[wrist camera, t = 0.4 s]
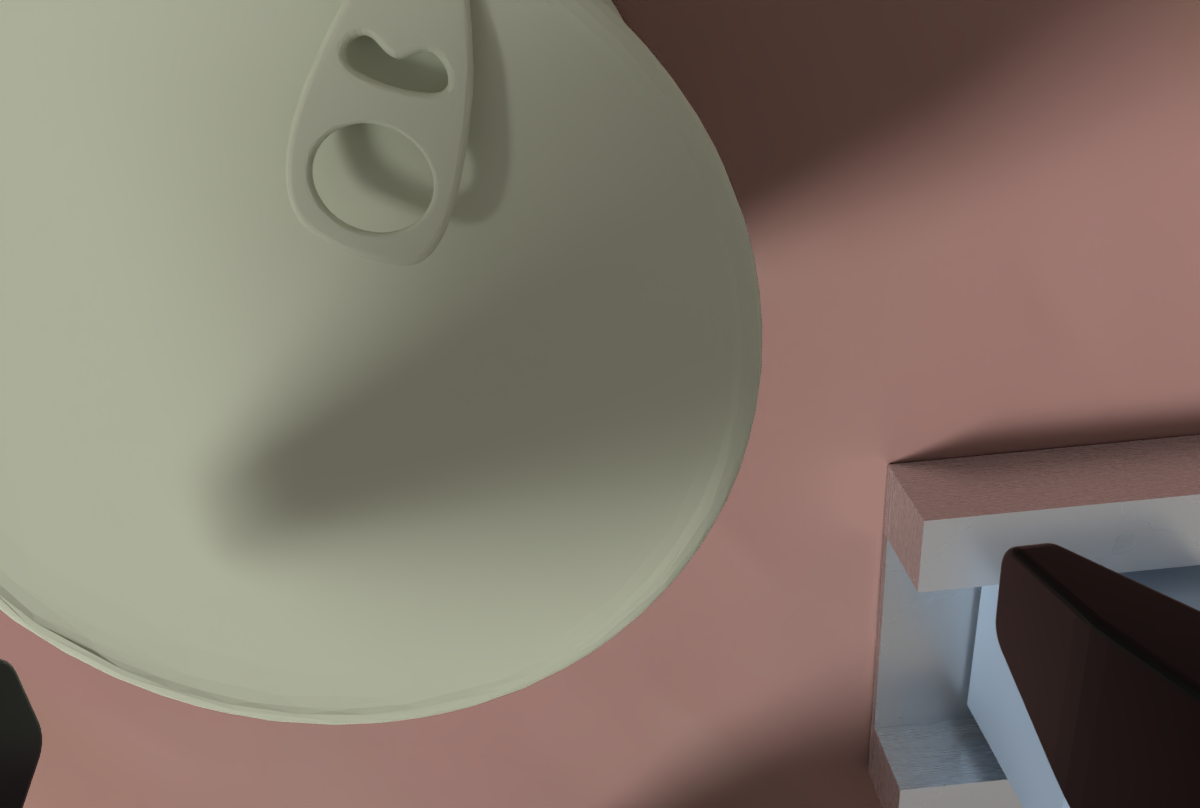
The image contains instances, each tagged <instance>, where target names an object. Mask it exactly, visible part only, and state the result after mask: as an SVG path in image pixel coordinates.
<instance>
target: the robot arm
mask: <svg viewBox="0 0 1200 808" xmlns="http://www.w3.org/2000/svg"><path fill="white" fill-rule="evenodd" d="M995 624H996V633H997V638H998V642H999V646H1000V648H1001V651H1002V653H1003V655H1004V658H1005V660H1006V663H1007V665H1008V667H1009V670H1010V672H1011V674H1012V677H1013V679H1014V681H1015V684H1016V686H1017V688H1018V691H1019V693H1020V696H1021V698H1022V700H1023V703H1024V705H1025V707H1026V710H1027V712H1028V714H1029V717H1030V719H1031V721H1032V724H1033V726H1034V729H1035V731H1036V733H1037V736H1038V738H1039V740H1040V743H1041V745H1042V747H1043V750H1044V752H1045V754H1046V757H1047V759H1048V762H1049V764H1050V766H1051V769H1052V771H1053V773H1054V775H1055V778H1056V780H1057V782H1058V784H1059V786H1060V788H1061V791H1062V793H1063V795H1064V797H1065V799H1066V801H1067V803H1068V805H1069V807H1070V808H1200V611H1199V610H1197V609H1195V608H1193V607H1190V606H1188V605H1186V604H1184V603H1182V602H1180V601H1178V600H1175V599H1173V598H1171V597H1169V596H1167V595H1165V594H1162V593H1160V592H1158V591H1156V590H1154V589H1152V588H1150V587H1147V586H1145V585H1143V584H1141V583H1139V582H1137V581H1134V580H1132V579H1130V578H1128V577H1126V576H1124V575H1122V574H1119V573H1117V572H1115V571H1113V570H1111V569H1109V568H1106V567H1104V566H1102V565H1100V564H1098V563H1096V562H1094V561H1091V560H1089V559H1087V558H1085V557H1083V556H1081V555H1078V554H1076V553H1074V552H1072V551H1070V550H1068V549H1066V548H1063V547H1061V546H1059V545H1056V544H1053V543H1042V544H1033V545H1024V546H1015V547H1011V548H1010V549H1009V550H1007V551H1006V552H1005V554H1004V556H1003V559H1002V563H1001V572H1000V581H999V591H998V600H997V610H996V622H995ZM41 747H42V733H41V728H40V725H39V722H38V720H37V717H36V715H35V713H34V711H33V709H32V706H31V704H30V702H29V700H28V697H27V695H26V693H25V691H24V689H23V686H22V684H21V682H20V680H19V677H18V675H17V673H16V671H15V669H14V668H13V666H12V665H11V664H10V663H9V662H7V661H5V660H2V659H0V808H23V805H24V802H25V799H26V796H27V793H28V790H29V787H30V784H31V781H32V778H33V775H34V772H35V769H36V766H37V763H38V760H39V757H40V753H41Z"/></svg>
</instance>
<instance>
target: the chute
mask: <svg viewBox="0 0 1200 808" xmlns="http://www.w3.org/2000/svg"><path fill="white" fill-rule="evenodd" d="M1042 543H1053V544H1056V545H1059V546H1061V547H1063V548H1066V549H1068V550H1070V551H1072V552H1074V553H1076V554H1078V555H1081V556H1083V557H1085V558H1087V559H1089V560H1091V561H1094V562H1096V563H1098V564H1100V565H1102V566H1104V567H1106V568H1109V569H1111V570H1113V571H1115V572H1117V573H1123V572H1133V571H1143V570H1153V569H1163V568H1174V567H1184V566H1194V565H1200V435H1190V436H1179V437H1169V438H1159V439H1148V440H1138V441H1128V442H1117V443H1107V444H1096V445H1086V446H1076V447H1065V448H1055V449H1045V450H1034V451H1024V452H1013V453H1003V454H993V455H982V456H972V457H962V458H951V459H941V460H931V461H920V462H910V463H899V464H889V465H888V475H887V490H886V505H885V520H884V535H883V550H882V565H881V580H880V595H879V610H878V625H877V640H876V656H875V671H874V686H873V701H872V716H871V731H870V746H869V761H868V772H869V774H870V777H871V780H872V782H873V785H874V787H875V790H876V793H877V795H878V798H879V800H880V803H881V806H882V808H1023V807H1022V805H1021V803H1020V801H1019V799H1018V797H1017V796H1016V794H1015V792H1014V790H1013V788H1012V786H1011V785H1010V783H1009V781H1008V779H1007V777H1006V775H1005V773H1004V772H1003V770H1002V768H1001V766H1000V764H999V762H998V761H997V759H996V757H995V755H994V753H993V751H992V750H991V748H990V746H989V744H988V742H987V740H986V738H985V737H984V735H983V733H982V731H981V729H980V727H979V726H978V724H977V722H976V720H975V718H974V716H973V715H972V713H971V711H970V709H969V707H968V705H967V701H968V693H969V685H970V677H971V669H972V661H973V653H974V645H975V637H976V629H977V621H978V613H979V605H980V597H981V589H982V586H991V585H999V581H1000V572H1001V563H1002V559H1003V556H1004V554H1005V552H1006V551H1007V550H1009V549H1010V548H1011V547H1015V546H1024V545H1033V544H1042Z"/></svg>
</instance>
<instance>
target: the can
mask: <svg viewBox="0 0 1200 808" xmlns="http://www.w3.org/2000/svg"><path fill="white" fill-rule="evenodd" d="M761 368H762V317H761V304H760V291H759V285H758V278H757V272H756V266H755V259H754V255H753V251H752V247H751V243H750V239H749V235H748V231H747V227H746V223H745V219H744V217H743V214H742V211H741V209H740V206H739V204H738V201H737V198H736V196H735V193H734V191H733V188H732V185H731V183H730V180H729V178H728V175H727V172H726V170H725V167H724V165H723V163H722V161H721V159H720V156H719V154H718V152H717V150H716V147H715V146H714V144H713V142H712V140H711V138H710V137H709V135H708V133H707V131H706V130H705V128H704V126H703V124H702V123H701V121H700V119H699V117H698V115H697V114H696V112H695V111H694V109H693V108H692V106H691V105H690V104H689V102H688V101H687V99H686V98H685V96H684V95H683V93H682V92H681V90H680V89H679V87H678V86H677V84H676V83H675V81H674V80H673V79H672V77H671V76H670V75H669V73H668V72H667V71H666V70H665V68H664V67H663V66H662V65H661V63H660V62H659V61H658V60H657V59H656V57H655V56H654V55H653V54H652V52H651V51H650V50H649V49H648V47H647V46H646V45H645V44H644V43H643V42H642V41H641V40H640V39H639V38H638V36H637V35H636V34H635V33H634V32H633V31H632V30H631V29H630V28H629V27H628V26H627V25H626V24H625V23H624V21H623V19H622V17H621V15H620V14H619V12H618V10H617V8H616V7H615V5H614V4H613V2H612V1H611V0H0V609H1V610H2V611H3V612H4V613H6V614H7V615H8V616H9V617H11V618H12V619H13V620H14V621H16V622H17V623H19V624H20V625H22V626H24V627H25V628H27V629H28V630H30V631H32V632H33V633H35V634H36V635H38V636H39V637H41V638H43V639H44V640H46V641H47V642H49V643H51V644H52V645H54V646H55V647H57V648H58V649H60V650H62V651H63V652H65V653H67V654H69V655H71V656H73V657H75V658H77V659H79V660H81V661H83V662H85V663H87V664H89V665H91V666H93V667H95V668H97V669H99V670H101V671H103V672H105V673H107V674H109V675H111V676H113V677H115V678H118V679H120V680H123V681H126V682H128V683H131V684H133V685H136V686H139V687H141V688H144V689H146V690H149V691H151V692H154V693H157V694H159V695H162V696H165V697H168V698H172V699H175V700H178V701H182V702H185V703H188V704H192V705H195V706H199V707H203V708H207V709H211V710H216V711H220V712H224V713H230V714H235V715H241V716H247V717H253V718H259V719H265V720H271V721H282V722H297V723H313V724H329V725H340V724H363V723H384V722H391V721H399V720H406V719H414V718H421V717H427V716H432V715H437V714H442V713H447V712H451V711H455V710H459V709H463V708H467V707H471V706H474V705H477V704H480V703H483V702H486V701H489V700H492V699H495V698H497V697H500V696H503V695H506V694H509V693H512V692H515V691H517V690H520V689H523V688H526V687H528V686H530V685H532V684H534V683H536V682H538V681H540V680H542V679H544V678H546V677H548V676H550V675H552V674H554V673H556V672H558V671H560V670H562V669H564V668H566V667H568V666H569V665H571V664H573V663H574V662H576V661H578V660H580V659H581V658H583V657H585V656H586V655H588V654H590V653H591V652H593V651H594V650H596V649H597V648H599V647H600V646H601V645H603V644H604V643H606V642H607V641H608V640H610V639H611V638H612V637H614V636H615V635H616V634H617V633H619V632H620V631H621V630H622V629H623V628H625V627H626V626H627V625H628V624H629V623H631V622H632V621H633V620H634V619H635V618H636V617H638V616H639V615H640V614H641V613H642V612H644V611H645V610H646V609H647V608H648V607H649V606H650V605H651V604H652V603H653V602H654V601H655V600H656V599H657V598H658V597H659V596H660V595H661V594H662V593H663V592H664V591H665V590H666V589H667V587H668V586H669V585H670V584H671V583H672V582H673V581H674V580H675V578H676V577H677V576H678V575H679V573H680V572H681V571H682V570H683V568H684V567H685V566H686V565H687V563H688V562H689V561H690V559H691V558H692V556H693V555H694V554H695V552H696V551H697V549H698V548H699V547H700V545H701V544H702V542H703V541H704V539H705V538H706V536H707V534H708V532H709V531H710V529H711V527H712V525H713V524H714V522H715V520H716V518H717V516H718V515H719V513H720V511H721V509H722V507H723V506H724V504H725V502H726V500H727V498H728V495H729V493H730V491H731V488H732V486H733V484H734V481H735V479H736V477H737V474H738V472H739V470H740V467H741V463H742V460H743V457H744V454H745V451H746V447H747V444H748V440H749V436H750V432H751V428H752V423H753V419H754V415H755V411H756V404H757V397H758V390H759V382H760V375H761Z"/></svg>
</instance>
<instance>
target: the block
mask: <svg viewBox="0 0 1200 808" xmlns="http://www.w3.org/2000/svg"><path fill="white" fill-rule="evenodd" d="M1119 574H1122V575H1124V576H1126V577H1128V578H1130V579H1132V580H1134V581H1137V582H1139V583H1141V584H1143V585H1145V586H1147V587H1150V588H1152V589H1154V590H1156V591H1158V592H1160V593H1162V594H1165V595H1167V596H1169V597H1171V598H1173V599H1175V600H1178V601H1180V602H1182V603H1184V604H1186V605H1188V606H1190V607H1193V608H1195V609H1197V610H1199V611H1200V565H1194V566H1184V567H1174V568H1163V569H1153V570H1143V571H1133V572H1123V573H1119ZM998 591H999V585H991V586H982V589H981V597H980V605H979V613H978V621H977V629H976V637H975V645H974V653H973V661H972V669H971V677H970V685H969V693H968V701H967V705H968V707H969V709H970V711H971V713H972V715H973V716H974V718H975V720H976V722H977V724H978V726H979V727H980V729H981V731H982V733H983V735H984V737H985V738H986V740H987V742H988V744H989V746H990V748H991V750H992V751H993V753H994V755H995V757H996V759H997V761H998V762H999V764H1000V766H1001V768H1002V770H1003V772H1004V773H1005V775H1006V777H1007V779H1008V781H1009V783H1010V785H1011V786H1012V788H1013V790H1014V792H1015V794H1016V796H1017V797H1018V799H1019V801H1020V803H1021V805H1022V807H1023V808H1070V807H1069V805H1068V803H1067V801H1066V799H1065V797H1064V795H1063V793H1062V791H1061V788H1060V786H1059V784H1058V782H1057V780H1056V778H1055V775H1054V773H1053V771H1052V769H1051V766H1050V764H1049V762H1048V759H1047V757H1046V754H1045V752H1044V750H1043V747H1042V745H1041V743H1040V740H1039V738H1038V736H1037V733H1036V731H1035V729H1034V726H1033V724H1032V721H1031V719H1030V717H1029V714H1028V712H1027V710H1026V707H1025V705H1024V703H1023V700H1022V698H1021V696H1020V693H1019V691H1018V688H1017V686H1016V684H1015V681H1014V679H1013V677H1012V674H1011V672H1010V670H1009V667H1008V665H1007V663H1006V660H1005V658H1004V655H1003V653H1002V651H1001V648H1000V646H999V642H998V638H997V633H996V624H995V622H996V610H997V600H998Z"/></svg>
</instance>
